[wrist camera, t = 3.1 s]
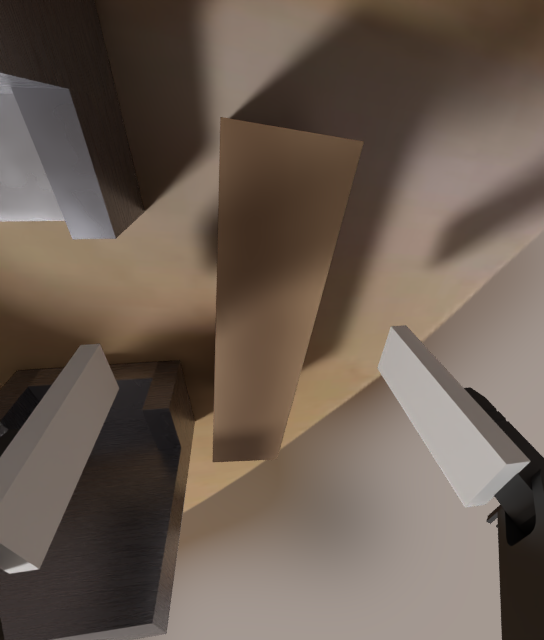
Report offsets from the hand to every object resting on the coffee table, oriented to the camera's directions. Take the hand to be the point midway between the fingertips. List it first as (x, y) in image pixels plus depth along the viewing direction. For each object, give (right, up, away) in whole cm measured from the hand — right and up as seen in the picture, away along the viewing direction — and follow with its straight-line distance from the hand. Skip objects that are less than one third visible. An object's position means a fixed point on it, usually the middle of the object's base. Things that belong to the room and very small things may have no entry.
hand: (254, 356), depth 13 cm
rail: (0, +3, +4) cm, 5 cm away
